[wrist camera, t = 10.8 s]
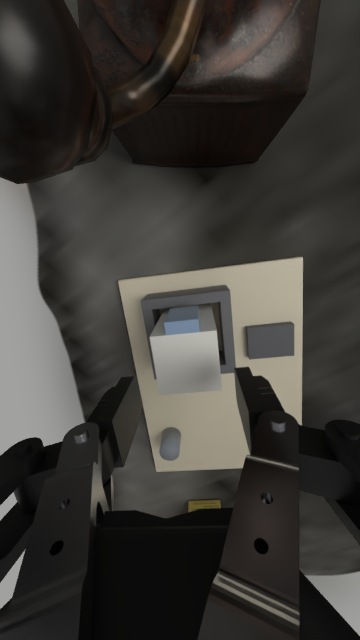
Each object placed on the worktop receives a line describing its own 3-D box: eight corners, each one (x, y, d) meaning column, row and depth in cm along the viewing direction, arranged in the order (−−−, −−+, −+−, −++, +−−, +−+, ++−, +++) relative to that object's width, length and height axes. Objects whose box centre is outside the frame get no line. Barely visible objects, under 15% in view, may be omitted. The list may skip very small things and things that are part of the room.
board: (298, 256, 21) (320, 258, 17) (297, 457, 27) (314, 492, 23) (121, 279, 23) (105, 285, 19) (157, 464, 29) (151, 497, 25)
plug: (209, 292, 21) (215, 317, 14) (213, 342, 23) (222, 390, 15) (164, 297, 22) (147, 324, 14) (171, 346, 23) (159, 395, 16)
